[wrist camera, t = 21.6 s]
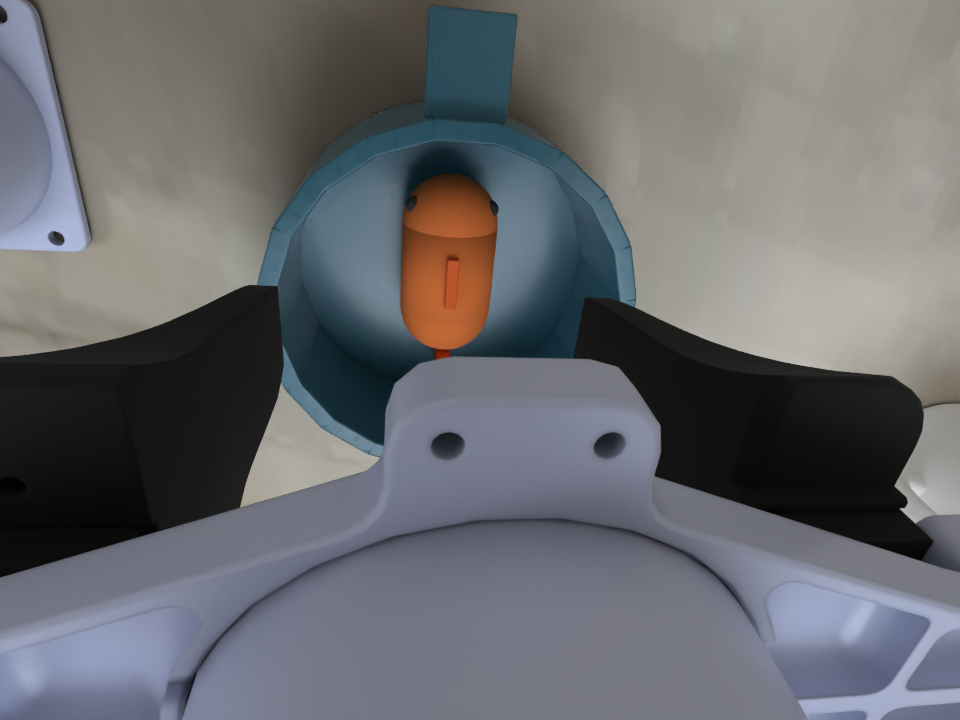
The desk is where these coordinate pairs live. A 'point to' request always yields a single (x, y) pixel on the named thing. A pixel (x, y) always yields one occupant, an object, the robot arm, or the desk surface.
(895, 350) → the desk surface
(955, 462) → the mug
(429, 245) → the fish
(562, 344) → the pan
